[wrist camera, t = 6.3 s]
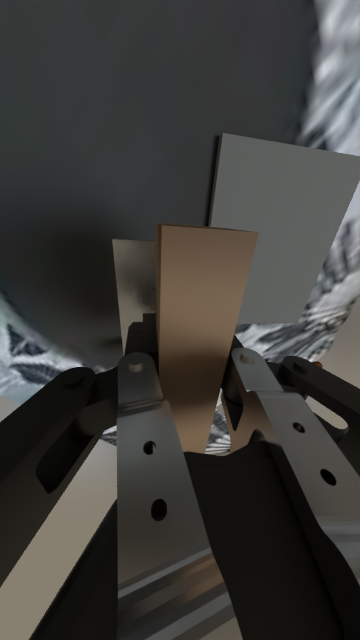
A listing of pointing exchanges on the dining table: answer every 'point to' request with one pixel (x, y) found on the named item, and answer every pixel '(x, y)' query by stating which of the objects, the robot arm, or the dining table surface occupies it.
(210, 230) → the plastering trowel
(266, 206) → the mat
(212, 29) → the dining table surface
